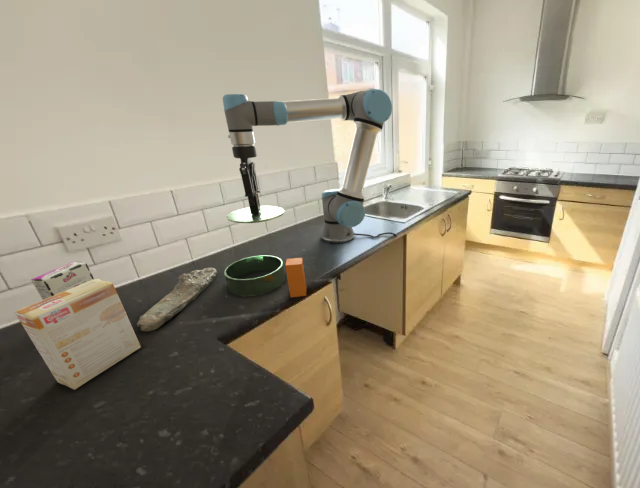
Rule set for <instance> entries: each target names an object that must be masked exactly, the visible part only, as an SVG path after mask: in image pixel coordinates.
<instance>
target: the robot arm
mask: <svg viewBox="0 0 640 488" xmlns="http://www.w3.org/2000/svg"><path fill="white" fill-rule="evenodd" d="M222 103H223V104H222V105H223V111H224V115H225V121H226V126H227V129H228V135H227V137H228V138H229V139H230V145H232V147H231V151H232V155H233V158H234V159H240V163H239V168H238V169H239V173H240V177H241V180H242V185H243V189H244V197H245V198H246V197H247V200H248V201H247V202H248V204H249V205H248V207H250V211H251V214H259V209H260V211H261V208H260V206H261V202H260V197H259V194H260V193H261V191H260V190H259V185H258V177H257V171H256V163H255V162H254V161H253V158H256V157H257V156H258V152H257V147H256V146H255V143H256V140H255V134H254V130H253V127H258V126H260V127H261V126H262V127H263V126H264V127H265V126H266V127H268V126H269V127H270V126H276V127H280V126H285V125H287V124H288V123H289V124H290V123H301V122H302V123H303V122H311V121H324V120H339V119H340V121H342V122H345V121H351V122H352V121H353V124H354V126H355V129H354V130H355V131H354V135H353V140H352V144H351V148H350V152H349V156H348V160H347V165H346V169H345V173H344V178H343V182H342V186H341V187H340V188H334V189H326V190H323V191H322V193H321V203H322V211H323V212H322V213H323V221H324V224H323V229H322V233H321V239H322V240H323V241H324V242H327V243H330V244H343V243H348V242H350V241H352V240H354V238H355V236H364V237H370V238H372V239H378V238H379V237H380V236H383V235H393V236H395V237H397V236H398V235H397V234H396V233H393V232H389V231H388V232H382V233H379V234H377V235H372V234H366V233H355V232H354V229H353V228H355V227H357V226H359V225H361V223H362V222H363V221H364V220H365V216H366V209H365V206H364V202H365V199H366V197H365V195H364V194H363V190H364V187H365V183H366V179H367V175H368V171H369V168H370V167H369V166H370V163H371V159H372V155H373V152H374V148H375V144H376V139H377V136H378V134H379V133H380V132H381V133H382V131H383V128H384V125H385V122H387V121H389V119H390V117H391V115H392V113H393V112H392V111H393V102H392V100H391V98H390V96H389V95H388V93H387V92H386V91H384V90H382V89H379V88H369V89H367V90H365V89H364V90H358V91H356V92H352V93H347V94H340V95H338V97H334V98H333V97H332V98H317V99H302V100H301V99H299V100H283V101H282V100H281V101H278V100H277V101H276V100H268V101H266V100H264V101H262V100H261V101H260V100H259V101H254V100H253V101H251V100H249V98H248V96H247V95H246V94H244V93H243V94H241V93H228V94H227V93H226V94H224V95H223V96H222ZM254 191H256V193H257V198H258V204H259V209H258V204H257V198H256V196H255V192H254Z"/></svg>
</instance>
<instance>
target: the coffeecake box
mask: <svg viewBox="0 0 640 488" xmlns="http://www.w3.org/2000/svg"><path fill="white" fill-rule="evenodd" d="M122 303H123V302H122V301H121V299H120V297H119V294H118V292H117V289H116V288H115V285H114V283H113V282H111V281H107V280H106V281H105V280H102V279H99V278H94V279H93V280H90V281H88V282H86V283H83V284H81V285H78V286H76V287H74V288H71V289H69V290H66V291H64V292H61V293H59V294H56V295H54V296H52V297H49V298H47V299H44V300H43V299H41V300H39V301H37V302H35V303H32V304H29V305H28V306H25V307H22V308H20V309H18V310H15V311H14V314H15V316H16V317H17V319H18V321H19V322H20V324H21V326H22V327H23V329H24V330H25V332H26V334H27V335H28V337H29V339H30V340H31V342H32V344H33V346H35V348H36V350H37V352H38V353H39V355H40V356H41V358H42V360H43V361H44V363H45V365H46V367H47V368H48V369H49V371H50V373H51V374H52V376H53V377H54V379H55V381H56V382H57V383H59V384H60V385H63V386H65V387H68V388H70V389H71V390H74V391H76V390H77V389H78V388H80V387H82V386H83V385H84V384H86V383H87V382H89V381H92V379H94V378H95V377H97V376H99V375H100V374H101V373H103V372H105V371H107V370H108V369H110V368H111V367H113V366H114V365H116V364H117V363H119V362H120V361H122V360H124V359H125V358H128V357H129V356H130V355H131V354H133V353H134V352H136V351H138V350H139V349H141V348H142V345H141V344H140V341H139V340H138V338H137V335H136V333H135V330H134V328H133V326H132V323H131V321H130V319H129V317H128V315H127V312H126V309H125V308H124V305H123V304H122Z"/></svg>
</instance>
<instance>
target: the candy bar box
mask: <svg viewBox="0 0 640 488" xmlns="http://www.w3.org/2000/svg"><path fill="white" fill-rule="evenodd" d="M93 279H95V278H94V275H93V274H92V271H91V270H90V268H89V265H88V264H87V262H85V261H84V262H83V261H72V262H70V263H68V264H65V265H62V266H60V267H58V268H54V269H52V270H51V271H48V272H46V273H44V274H43V273H42V274H41V275H38V276H36V277H33V278H31V280H30V281H31V282H32V284H33V286H34V288H35V289H36V291H37V293H38V294H39V296H40V298H41V300H44V299H47V298H49V297H52V296H54V295H56V294H59V293H61V292H64V291H66V290H69V289H71V288H74V287H76V286H78V285H81V284H83V283H86V282H88V281H90V280H93Z"/></svg>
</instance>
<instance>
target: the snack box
mask: <svg viewBox="0 0 640 488" xmlns="http://www.w3.org/2000/svg"><path fill="white" fill-rule="evenodd" d="M284 267H285V273H286V279H287V284H288V291H289V296H290V298H299V297H306V296H307V293H308V292H307V291H308V290H307V288H308V287H307V281H306V280H307V279H306V274H305V266H304V259H303V257H293V258H286V260H285V266H284Z"/></svg>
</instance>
